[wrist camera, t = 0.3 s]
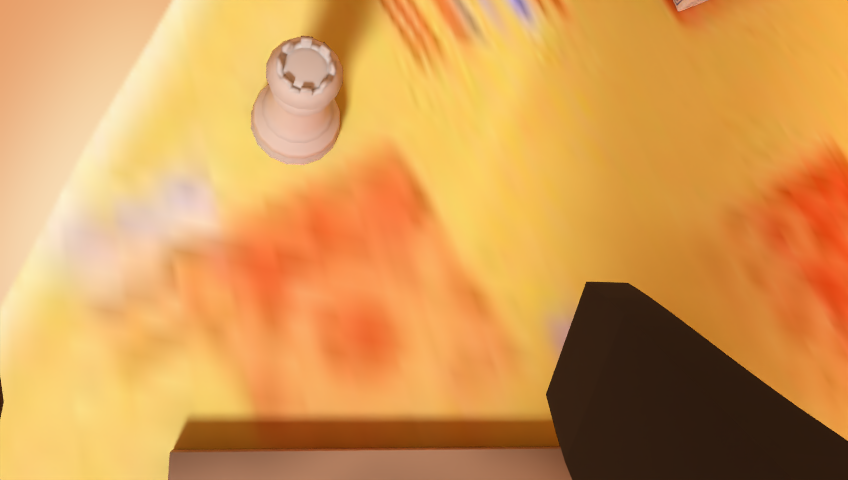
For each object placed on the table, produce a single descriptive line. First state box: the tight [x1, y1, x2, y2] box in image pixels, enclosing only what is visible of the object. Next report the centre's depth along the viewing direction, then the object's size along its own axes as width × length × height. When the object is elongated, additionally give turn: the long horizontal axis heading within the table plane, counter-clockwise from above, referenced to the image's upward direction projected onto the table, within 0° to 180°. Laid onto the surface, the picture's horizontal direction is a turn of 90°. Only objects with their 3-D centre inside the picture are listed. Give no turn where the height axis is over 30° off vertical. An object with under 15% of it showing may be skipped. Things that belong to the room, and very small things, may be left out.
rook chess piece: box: [251, 36, 343, 165], centre depth 37 cm, size 4×4×8 cm
